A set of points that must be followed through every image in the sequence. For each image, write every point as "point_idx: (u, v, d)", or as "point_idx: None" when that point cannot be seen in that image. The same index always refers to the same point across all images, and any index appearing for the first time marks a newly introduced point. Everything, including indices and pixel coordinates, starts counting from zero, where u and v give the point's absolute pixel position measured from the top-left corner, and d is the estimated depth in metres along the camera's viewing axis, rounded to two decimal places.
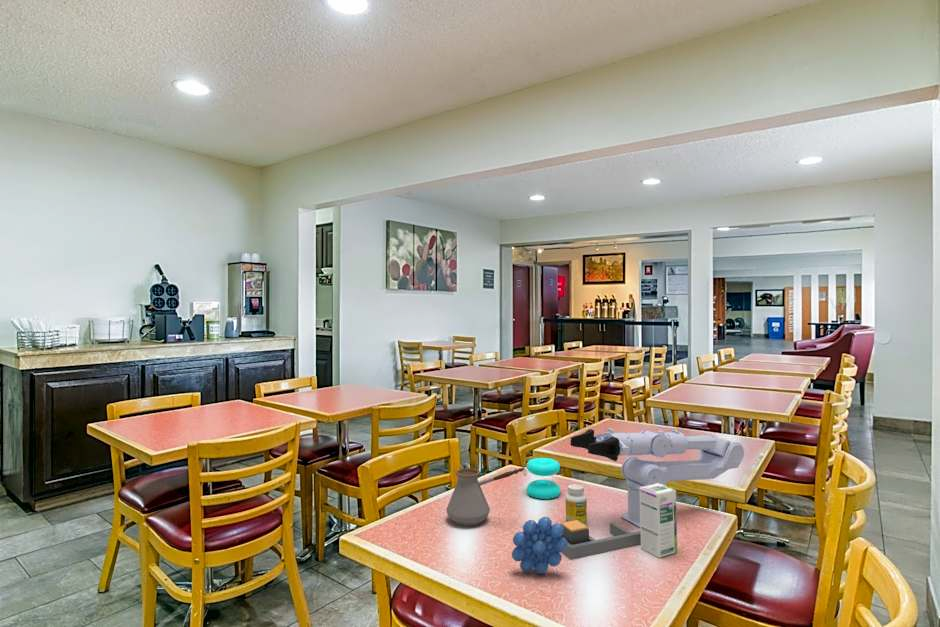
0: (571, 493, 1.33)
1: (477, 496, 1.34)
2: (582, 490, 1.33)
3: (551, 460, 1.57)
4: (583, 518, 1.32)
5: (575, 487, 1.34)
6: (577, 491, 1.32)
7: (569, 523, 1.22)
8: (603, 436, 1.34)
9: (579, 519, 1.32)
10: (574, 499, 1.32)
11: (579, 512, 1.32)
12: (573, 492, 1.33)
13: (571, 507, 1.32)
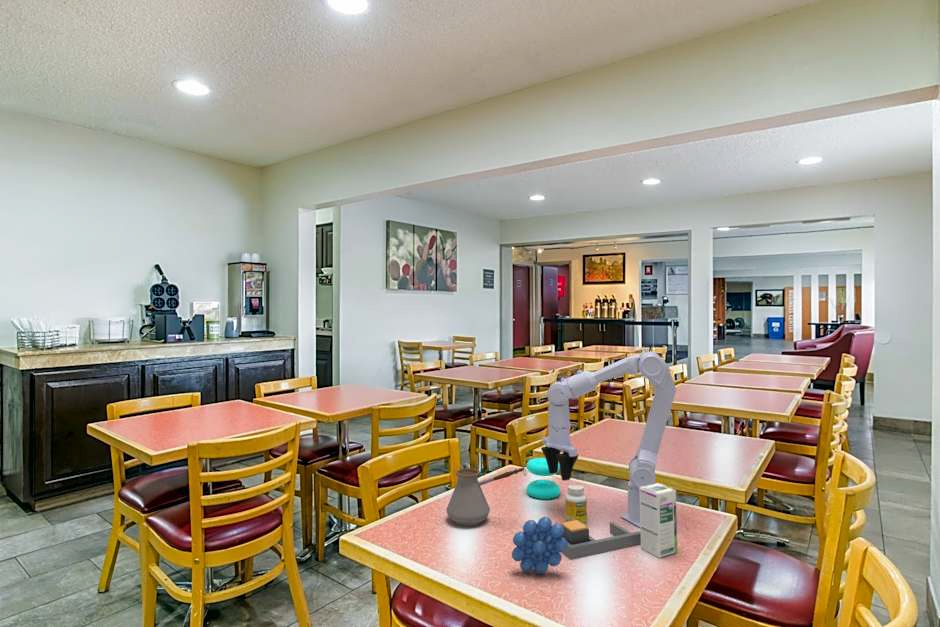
0: (571, 493, 1.33)
1: (477, 496, 1.34)
2: (582, 490, 1.33)
3: None
4: (583, 518, 1.32)
5: (575, 487, 1.34)
6: (577, 491, 1.32)
7: (569, 523, 1.22)
8: None
9: (579, 519, 1.32)
10: (574, 499, 1.32)
11: (579, 512, 1.32)
12: (573, 492, 1.33)
13: (571, 507, 1.32)
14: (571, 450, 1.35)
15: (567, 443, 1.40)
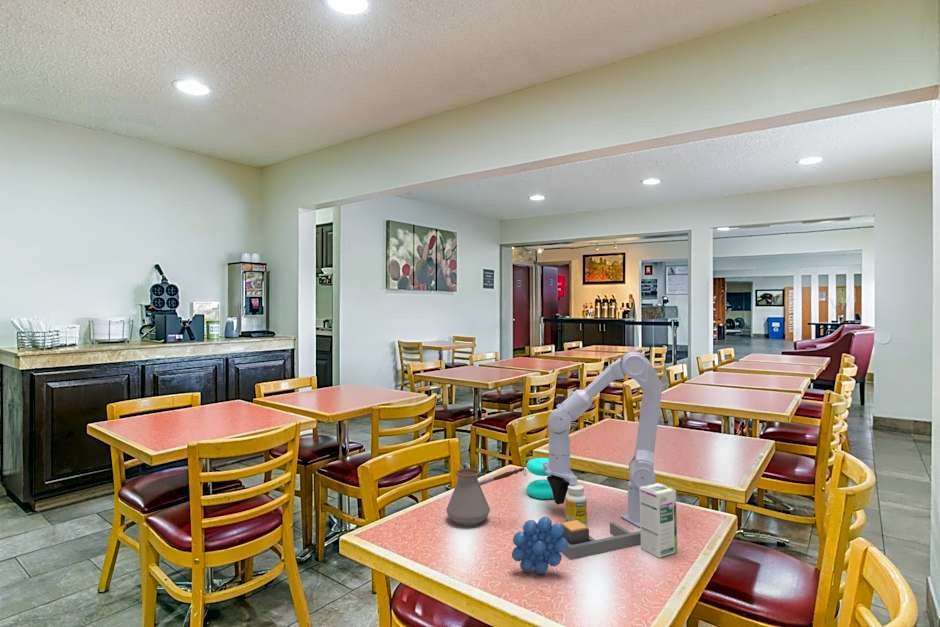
0: (571, 493, 1.33)
1: (477, 496, 1.34)
2: (582, 490, 1.33)
3: None
4: (583, 518, 1.32)
5: (575, 487, 1.34)
6: (577, 491, 1.32)
7: (569, 523, 1.22)
8: None
9: (579, 519, 1.32)
10: (574, 499, 1.32)
11: (579, 512, 1.32)
12: (573, 492, 1.33)
13: (571, 507, 1.32)
14: (571, 478, 1.35)
15: (567, 470, 1.40)
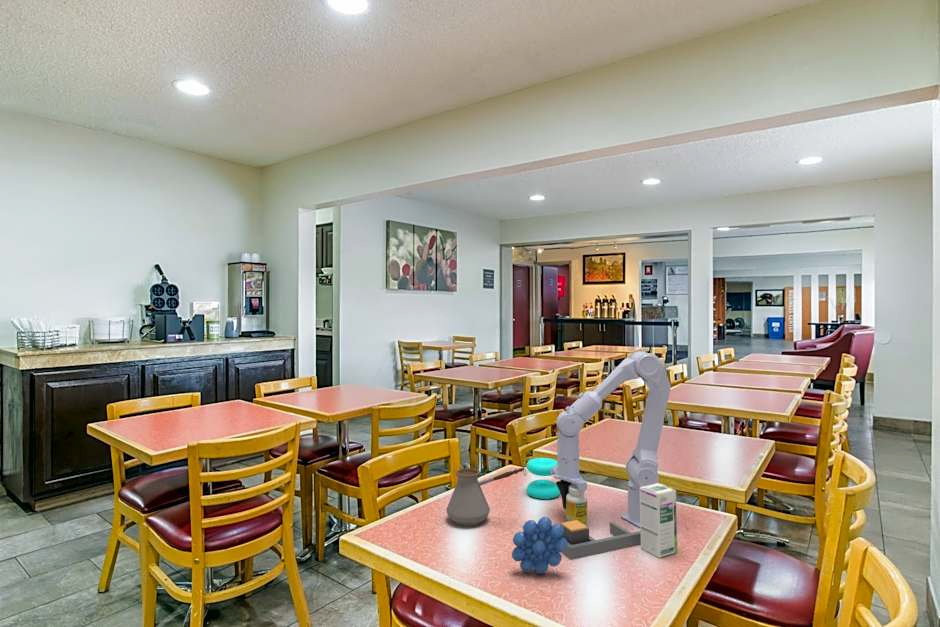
0: (572, 494, 1.33)
1: (477, 496, 1.34)
2: (583, 491, 1.32)
3: (551, 460, 1.57)
4: (584, 518, 1.32)
5: (576, 488, 1.33)
6: (578, 492, 1.32)
7: (569, 523, 1.22)
8: None
9: (579, 519, 1.32)
10: (575, 500, 1.32)
11: (579, 513, 1.32)
12: (573, 493, 1.32)
13: (571, 508, 1.32)
14: (581, 484, 1.31)
15: (576, 475, 1.36)
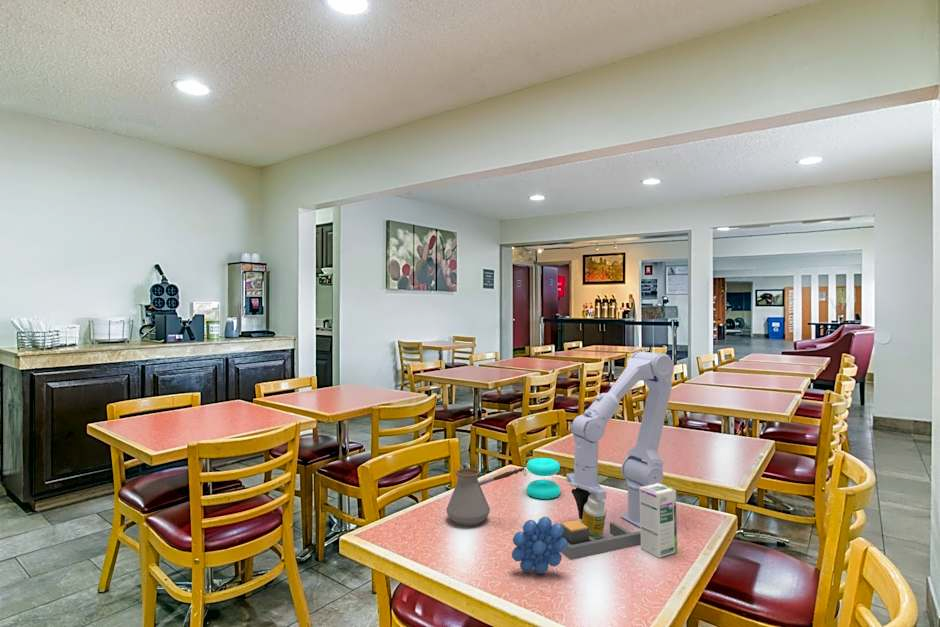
0: (591, 506, 1.24)
1: (477, 496, 1.34)
2: (603, 504, 1.24)
3: (551, 460, 1.57)
4: (601, 530, 1.25)
5: (596, 500, 1.25)
6: (599, 506, 1.23)
7: (569, 523, 1.22)
8: None
9: (597, 532, 1.25)
10: (595, 513, 1.23)
11: (597, 525, 1.24)
12: (594, 506, 1.24)
13: (589, 520, 1.24)
14: (600, 493, 1.22)
15: (594, 483, 1.27)
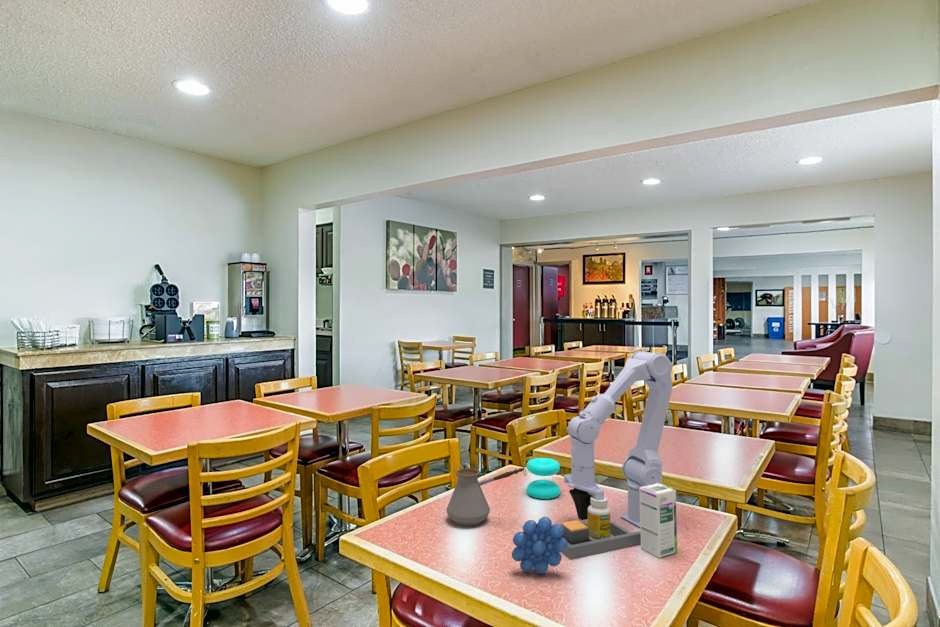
0: (594, 505, 1.25)
1: (477, 496, 1.34)
2: (606, 502, 1.25)
3: (551, 460, 1.57)
4: (608, 532, 1.24)
5: None
6: (601, 503, 1.24)
7: (569, 523, 1.22)
8: None
9: (603, 533, 1.23)
10: (598, 511, 1.23)
11: (603, 525, 1.23)
12: (596, 504, 1.24)
13: (594, 521, 1.24)
14: (597, 493, 1.25)
15: (592, 484, 1.29)
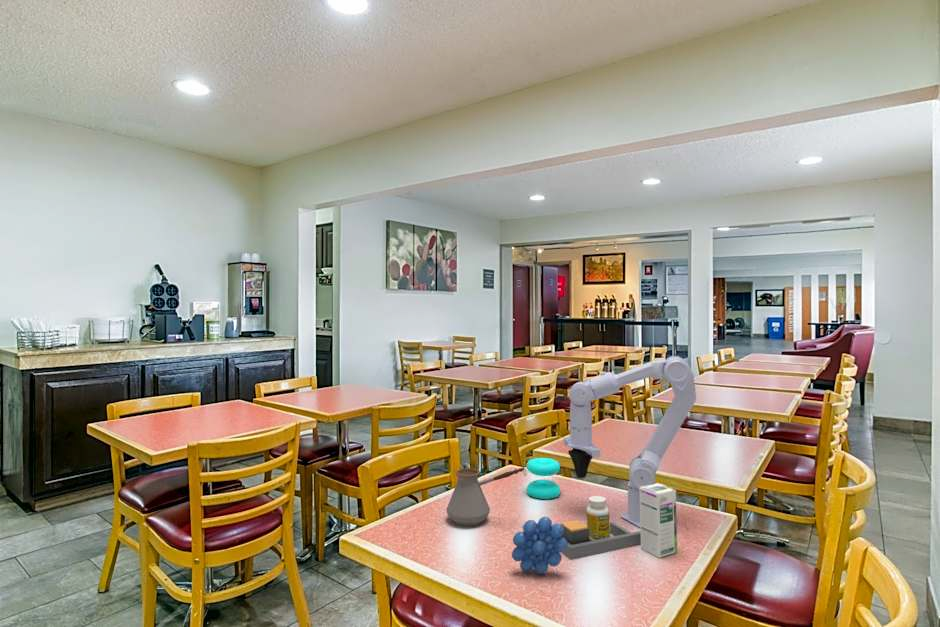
0: (593, 506, 1.24)
1: (477, 496, 1.34)
2: (604, 502, 1.24)
3: (551, 460, 1.57)
4: (607, 532, 1.24)
5: (597, 499, 1.25)
6: (600, 504, 1.24)
7: (569, 523, 1.22)
8: None
9: (602, 533, 1.23)
10: (597, 512, 1.23)
11: (602, 526, 1.23)
12: (595, 505, 1.24)
13: (593, 521, 1.24)
14: (594, 451, 1.34)
15: (589, 444, 1.39)
